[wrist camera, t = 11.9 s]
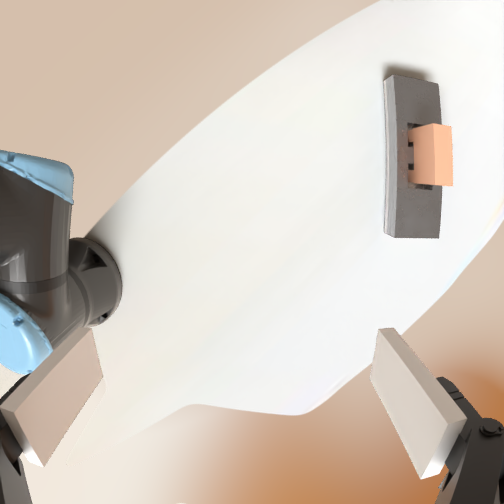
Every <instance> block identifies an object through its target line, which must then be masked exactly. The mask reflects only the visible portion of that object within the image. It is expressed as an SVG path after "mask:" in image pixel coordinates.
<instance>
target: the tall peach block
mask: <svg viewBox="0 0 504 504" xmlns="http://www.w3.org/2000/svg"><path fill="white" fill-rule="evenodd" d="M408 143H409V144H414V170H408V182H413V183H417V184H429V185H442V186H453V155H452V133H451V126H446V125H440V124H434V123H433V124H429V125H425V126H421V127H417V128H413V129H412V130H408Z"/></svg>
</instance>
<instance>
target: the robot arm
mask: <svg viewBox="0 0 504 504" xmlns="http://www.w3.org/2000/svg"><path fill="white" fill-rule="evenodd" d="M73 179H74V176H73V172H72V169H71V168H70V167H69V166H68V165H67V164H65V163H62V162H58V161H55V160H50V159H46V158H41V157H36V156H31V155H26V154H20V153H14V152H8V151H4V150H0V363H1V364H2V365H3V366H5V367H6V368H8V369H9V370H11V371H13V372H16V373H19V374H26V375H25V376H23V377H22V378H20V379H19V380H18V381H17V382H16V383H15V384H14V386H12V387H11V388H10V389H9V392H8V391H7V392H6V393H5V394H4V395H3V397H2V398H1V399H0V504H32V501H31V497H30V493H29V489H28V485H27V481H26V477H25V473H24V468H23V464H22V461H21V459H20V458H19V456H20V454H21V453H22V452H23V453H24V454H25V456H26V457H27V459H28V461H29V462H31V463H34V464H36V465H39V466H42V467H45V465H46V463H47V462H48V460H49V459H50V457H51V455H52V454H53V452H54V451H55V449H56V447H57V446H58V444H59V443H60V441H61V439H62V438H63V437H64V435H65V433H66V432H67V430H68V429H69V427H70V425H71V424H72V423H73V421H74V420H75V418H76V417H77V415H78V413H79V412H80V410H81V409H82V407H83V406H84V404H85V403H86V401H87V400H88V398H89V397H90V396H91V394H92V393H93V391H94V389H95V388H96V387H97V385H98V384H99V382H100V381H101V379H102V378H103V373H102V370H101V366H100V362H99V358H98V354H97V350H96V345H95V341H94V337H93V332H92V328H89V327H93V326H97V325H99V324H101V323H103V322H105V321H106V320H107V319H108V318H109V317H110V316H111V315H112V314H113V313H114V312H115V310H116V309H117V307H118V305H119V303H120V300H121V294H122V283H121V277H120V273H119V270H118V268H117V266H116V264H115V262H114V260H113V259H112V257H111V256H110V254H109V253H108V252H107V251H106V250H105V249H104V248H103V247H102V246H100V245H99V244H97V243H96V242H94V241H92V240H89V239H86V238H72V239H69V238H70V223H71V210H72V205H73V203H74V201H73V199H72V194H73V181H74V180H73ZM370 381H371V383H372V384H373V386H374V388H375V390H376V392H377V394H378V396H379V398H380V400H381V402H382V403H383V405H384V407H385V409H386V411H387V413H388V415H389V417H390V419H391V421H392V423H393V425H394V427H395V429H396V431H397V433H398V435H399V437H400V438H401V441H402V443H403V445H404V446H405V449H406V451H407V453H408V455H409V457H410V459H411V461H412V463H413V465H414V467H415V469H416V471H417V473H418V475H419V477H420V479H424V478H427V477H430V476H434V475H437V474H439V473H440V471H441V469H442V467H443V466H444V464H446V466H447V468H448V469H449V471H448V473H447V474H446V476H445V478H444V480H443V481H442V483H441V484H440V486H439V487H438V488H440V489H441V490H440V492H439V495H438V497H437V500H436V502H435V504H504V427H503V425H502V424H501V423H500V422H498V421H497V420H494V419H492V418H482V417H481V416H480V415H479V414H478V412H477V411H476V410H475V409H474V408H473V406H472V405H471V404H470V403H469V402H468V400H467V399H466V398H464V396H463V394H462V393H461V392H459V390H458V389H457V388H456V386H455V385H454V384H453V383H452V382H451V381H449V380H447V379H446V378H444V377H439V378H435V377H434V376H433V374H432V373H431V372H430V371H429V369H428V368H427V367H426V366H425V365H424V363H423V362H422V361H421V360H420V358H419V357H418V356H417V355H416V354H415V352H414V351H413V350H412V349H411V348H410V347H409V345H408V344H407V343H406V342H405V341H404V339H403V338H402V337H401V336H400V335H399V334H398V332H397V331H396V330H395V329H394V328H384V329H378V335H377V341H376V347H375V353H374V358H373V364H372V369H371V374H370Z"/></svg>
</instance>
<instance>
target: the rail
mask: <svg viewBox="0 0 504 504" xmlns="http://www.w3.org/2000/svg"><path fill="white" fill-rule="evenodd" d="M383 83H384V97H385V116H386V208H385V227H384V233H385V234H388V235H390V236H392V237H394V238H439V233H440V220H441V204H442V185H429V184H417V183H413V182H408V170H414V144H409V143H408V130H412V129H413V128H417V127H421V126H425V125H429V124H433V123H434V124H440V125H442V124H441V108H440V96H439V86H438V84H437V83H432V82H428V81H424V80H419V79H415V78H410V77H405V76H399V75H394V74H393V75H392V76H390V77H389V78H387V79H386V80H384V81H383Z"/></svg>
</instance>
